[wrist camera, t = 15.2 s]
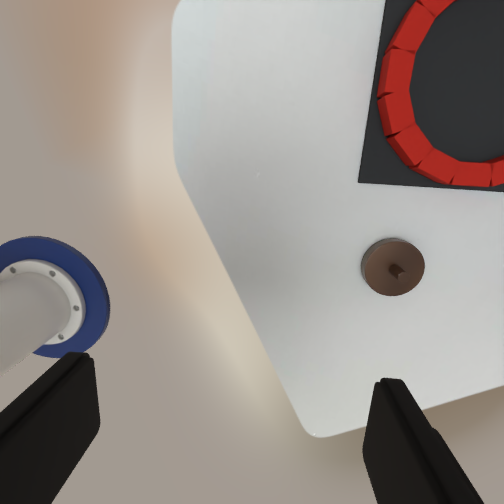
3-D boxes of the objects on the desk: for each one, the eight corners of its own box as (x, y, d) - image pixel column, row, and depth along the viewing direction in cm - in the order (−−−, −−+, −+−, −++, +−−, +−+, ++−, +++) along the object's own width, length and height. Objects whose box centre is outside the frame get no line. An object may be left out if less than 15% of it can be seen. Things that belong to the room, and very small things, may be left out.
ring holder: (357, 288, 36) (366, 303, 32) (365, 236, 34) (377, 244, 30) (412, 293, 35) (429, 308, 31) (424, 240, 33) (443, 249, 30)
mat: (357, 182, 32) (358, 182, 32) (393, -47, 27) (394, -50, 26) (553, 195, 31) (556, 195, 31) (632, -42, 26) (637, -45, 25)
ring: (363, 179, 32) (369, 179, 30) (398, -44, 26) (409, -63, 24) (554, 190, 31) (574, 192, 28) (630, -40, 25) (663, -59, 23)
